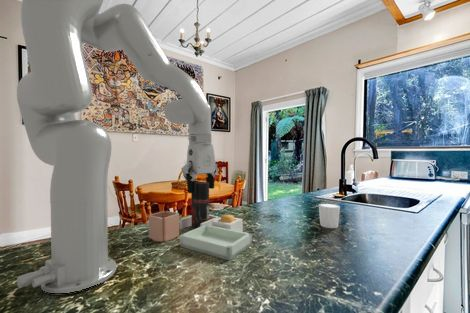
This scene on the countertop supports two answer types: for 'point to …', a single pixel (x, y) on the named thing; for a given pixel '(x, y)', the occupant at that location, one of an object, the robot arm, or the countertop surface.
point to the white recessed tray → (215, 223)
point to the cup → (163, 226)
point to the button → (227, 218)
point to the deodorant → (200, 204)
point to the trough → (216, 241)
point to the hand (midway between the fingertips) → (201, 190)
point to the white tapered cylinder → (329, 215)
